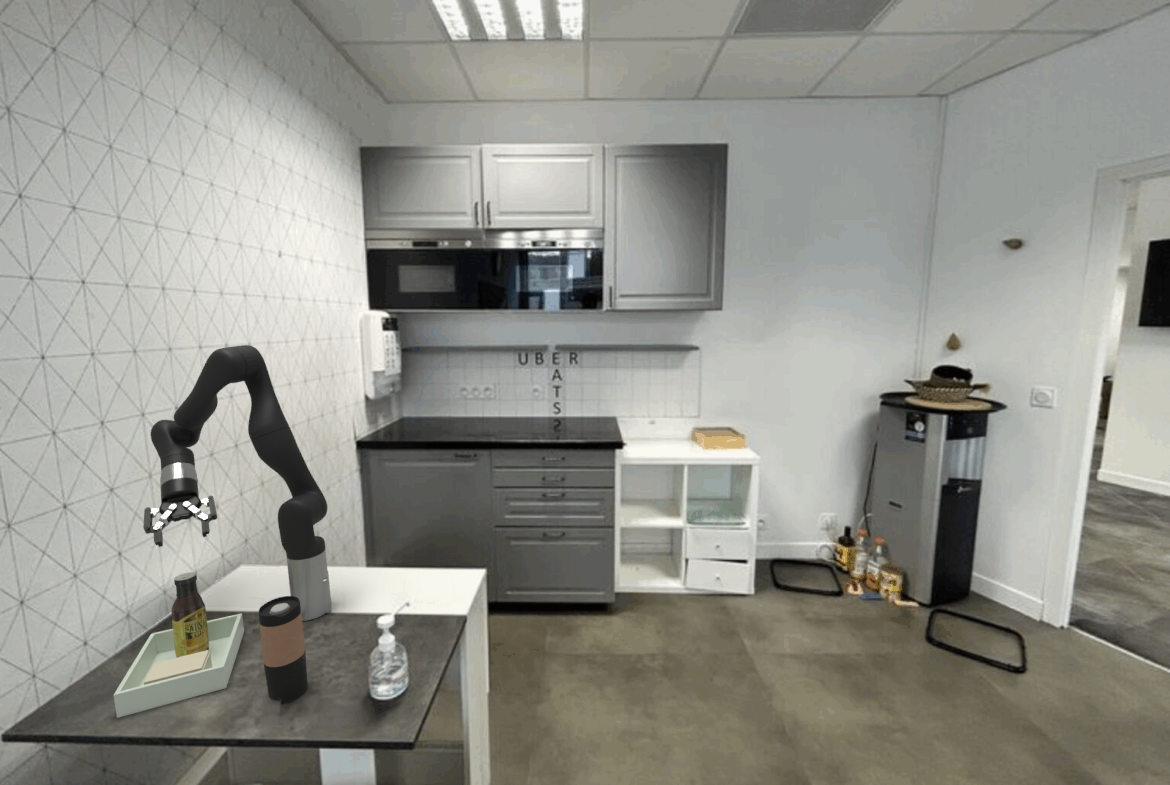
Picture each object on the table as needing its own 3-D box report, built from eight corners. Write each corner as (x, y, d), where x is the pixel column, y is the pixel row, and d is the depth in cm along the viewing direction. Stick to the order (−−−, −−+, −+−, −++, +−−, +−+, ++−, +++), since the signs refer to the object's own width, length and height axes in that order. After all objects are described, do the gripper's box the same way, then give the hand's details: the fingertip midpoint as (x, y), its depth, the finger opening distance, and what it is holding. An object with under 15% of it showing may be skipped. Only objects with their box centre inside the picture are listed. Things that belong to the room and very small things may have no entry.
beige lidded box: (212, 669, 112) (210, 649, 112) (205, 689, 106) (202, 668, 105) (156, 683, 108) (153, 662, 107) (145, 705, 102) (142, 683, 101)
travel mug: (282, 678, 110) (273, 595, 108) (316, 679, 110) (308, 595, 107) (259, 705, 103) (248, 616, 100) (295, 705, 103) (285, 616, 100)
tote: (244, 635, 126) (241, 613, 125) (226, 691, 107) (223, 666, 106) (154, 656, 118) (151, 633, 118) (117, 722, 99) (113, 695, 98)
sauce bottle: (191, 666, 113) (179, 585, 110) (169, 663, 115) (157, 582, 112) (217, 648, 120) (207, 571, 117) (196, 645, 121) (186, 568, 118)
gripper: (140, 482, 123) (141, 542, 115) (211, 471, 131) (217, 525, 123) (146, 497, 128) (148, 555, 120) (214, 485, 136) (220, 538, 129)
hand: (183, 540), depth 122 cm, fingers open, 8 cm apart
